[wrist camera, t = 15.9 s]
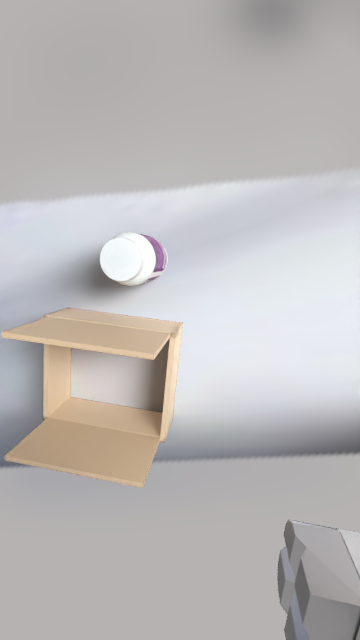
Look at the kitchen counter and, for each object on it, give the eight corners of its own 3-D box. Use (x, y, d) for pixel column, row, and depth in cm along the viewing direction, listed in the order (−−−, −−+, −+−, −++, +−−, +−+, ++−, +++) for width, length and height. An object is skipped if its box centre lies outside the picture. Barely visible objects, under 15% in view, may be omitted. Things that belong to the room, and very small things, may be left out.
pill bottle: (139, 227, 37) (109, 217, 28) (176, 251, 37) (159, 249, 27) (117, 266, 38) (82, 268, 29) (153, 289, 38) (129, 299, 29)
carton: (182, 322, 38) (161, 354, 26) (172, 418, 41) (149, 489, 29) (68, 307, 40) (-5, 330, 28) (65, 400, 43) (-1, 459, 30)
